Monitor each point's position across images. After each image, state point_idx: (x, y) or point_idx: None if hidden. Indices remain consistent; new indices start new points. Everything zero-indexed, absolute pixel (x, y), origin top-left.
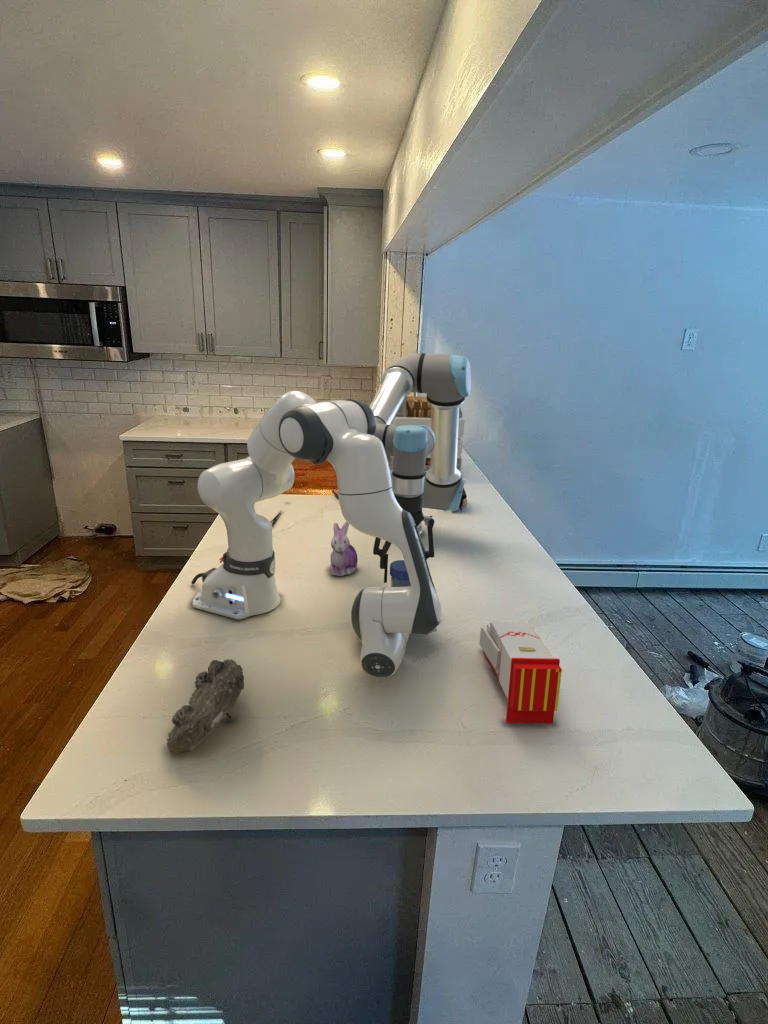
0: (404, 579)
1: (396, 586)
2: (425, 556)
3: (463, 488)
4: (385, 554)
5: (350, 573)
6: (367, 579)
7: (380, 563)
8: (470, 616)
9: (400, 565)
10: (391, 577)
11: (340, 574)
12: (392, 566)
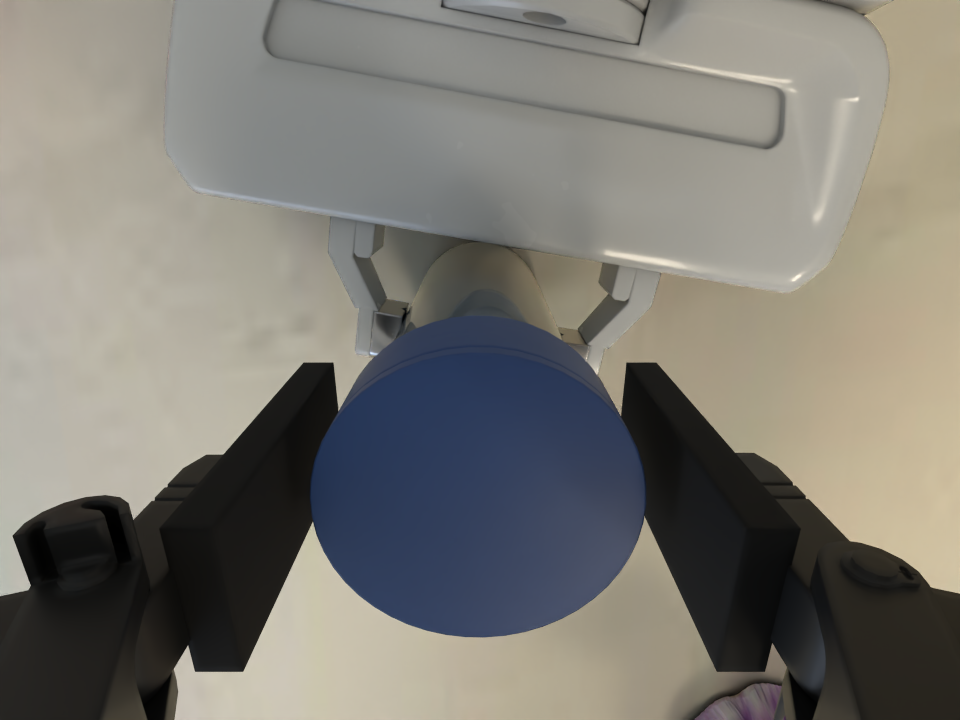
0: (456, 318)
1: (532, 320)
2: (52, 589)
3: None
4: (835, 591)
5: (711, 704)
6: (631, 668)
7: (798, 495)
8: (105, 395)
9: (511, 507)
10: None
11: (763, 690)
12: (620, 468)
